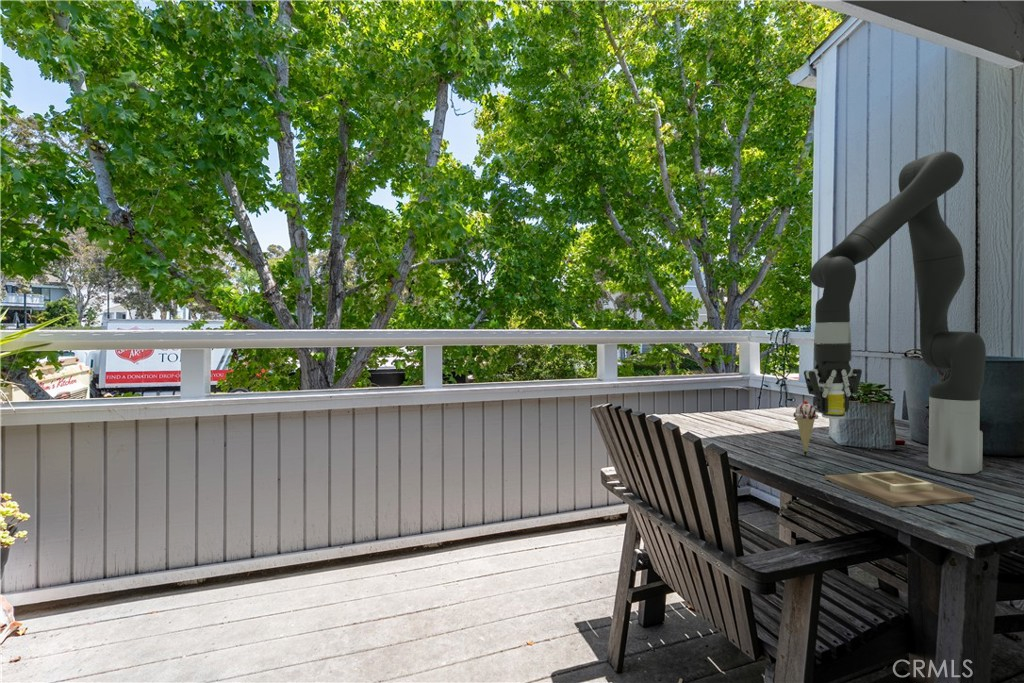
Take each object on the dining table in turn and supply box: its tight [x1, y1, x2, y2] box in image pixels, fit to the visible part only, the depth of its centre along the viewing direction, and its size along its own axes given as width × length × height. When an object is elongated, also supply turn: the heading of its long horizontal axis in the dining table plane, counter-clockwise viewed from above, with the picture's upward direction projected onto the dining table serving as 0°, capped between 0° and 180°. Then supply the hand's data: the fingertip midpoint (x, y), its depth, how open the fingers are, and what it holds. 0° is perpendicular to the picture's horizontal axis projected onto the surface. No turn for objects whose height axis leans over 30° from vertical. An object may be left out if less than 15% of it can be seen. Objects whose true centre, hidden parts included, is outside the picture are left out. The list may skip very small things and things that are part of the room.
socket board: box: [824, 470, 976, 508], centre depth 109 cm, size 18×18×2 cm
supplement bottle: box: [821, 383, 846, 420], centre depth 123 cm, size 5×5×8 cm
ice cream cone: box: [793, 400, 819, 457], centre depth 136 cm, size 6×6×15 cm
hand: (832, 411), depth 123 cm, fingers closed on supplement bottle, 4 cm apart
